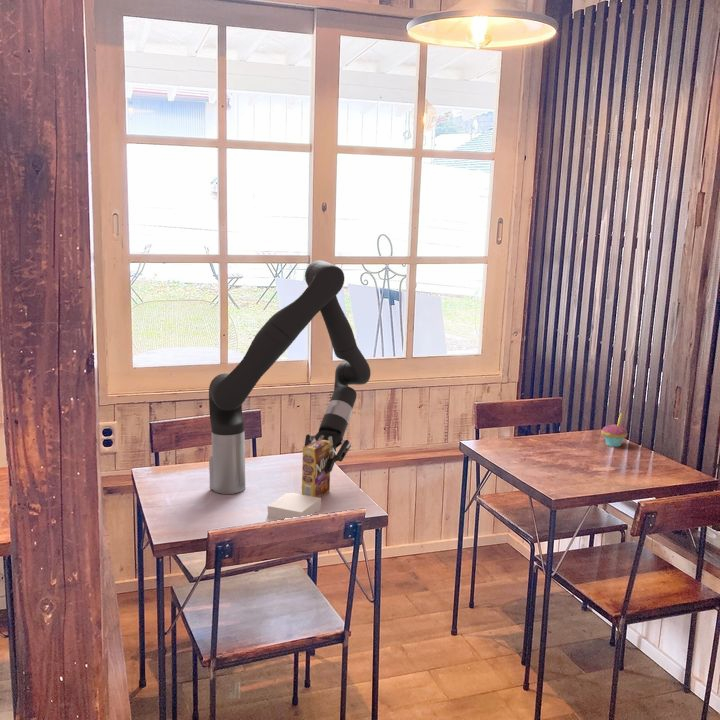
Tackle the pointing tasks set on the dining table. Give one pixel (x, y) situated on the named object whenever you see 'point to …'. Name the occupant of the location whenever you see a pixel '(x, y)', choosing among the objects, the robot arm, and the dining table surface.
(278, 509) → the plate
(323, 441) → the candy box
